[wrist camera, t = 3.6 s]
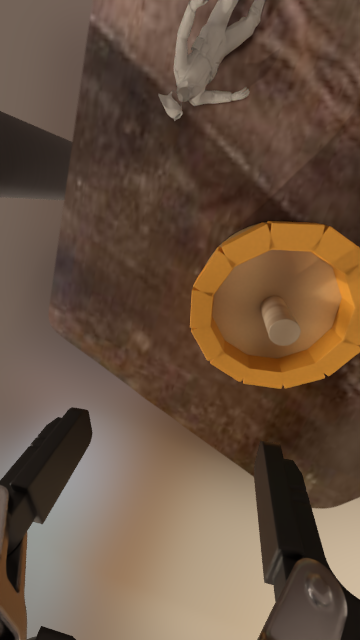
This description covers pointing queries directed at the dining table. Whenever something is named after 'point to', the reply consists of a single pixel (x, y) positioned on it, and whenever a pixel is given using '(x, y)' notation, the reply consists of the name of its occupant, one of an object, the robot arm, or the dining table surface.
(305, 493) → the robot arm
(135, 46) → the dining table surface
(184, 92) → the soldier figure
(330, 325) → the ring stand
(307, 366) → the ring
